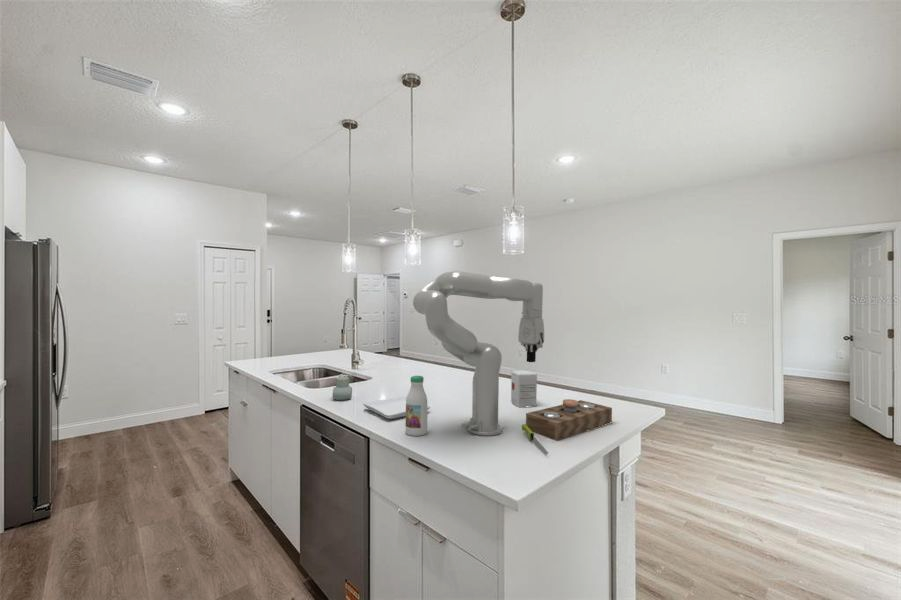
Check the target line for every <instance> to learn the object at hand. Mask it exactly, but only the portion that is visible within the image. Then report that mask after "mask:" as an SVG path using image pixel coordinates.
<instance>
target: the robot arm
mask: <svg viewBox="0 0 901 600" xmlns="http://www.w3.org/2000/svg"><path fill="white" fill-rule="evenodd" d="M543 287H544V286H543V284H542V283H539V282H531V281H529V280H526V279H519V278H512V277H502V276H495V275H494V276H493V275H486V274H479V273H472V272H466V271H459V270H454V271H446V272H444V273H441V274H440V275H438V276H437V277H435V279H433V280H432V281H431V282H429V283H428V284H427V285H426V286H423V288H422V289H420V290H419V291H418V292H417V293H416V294H415V295H414V297H413V300H412V306H413V308H414V310H415V311H416V312H417V313H419V314H421V315H425V322H426V326H427V328H428V331H429V332H430V334H431V335H433V336H434V337H435V338H436V339H438V340H439V341H440V342H441V343H440V344H441V346H442V347H443V349H444V350H445V351H446V352H447V353H449V354H450V355H452V356H453V357H455V358H457V359H458V360H460V361H462V362H463V363H465V364H466V365H469V366H471V367H474V368H475V369H474V373H473V378H472V397H471V398H472V402H471V403H472V405H471V406H472V407H471V408H472V409H471V413H472V415H471V416H472V417H470V418H469V421H468V422H463V423H461V428H462V429H463V430H464V429H467V431H468V432H469V433H471V434H474V435H476V436H477V435H478V436H484V437H486V436H487V437H488V436H498V435H499V434H501V433H502V432H503V427H502V425H501V424H499V391H500V390H499V388H500V387H499V386H500V385H499V384H500V383H499V381H500V372H501V365H502V357H503V356H502V353H501V351H500V350H499V348H498V347H497V346H496V345H493V344H491V343H485V342H481V341H478V339H477V337H476V335H475V334H474V333H473V332H472V331H471V330H469V329H467V328H466V327H465V326H463V325H461V324H459V323H458V322H457V321H456V320H454V319H453V318H452V317H451V316H450V314H449V311H448V300H447V298H448V297H449V296H460V297H461V296H462V297H470V298H475V299H476V298H477V299H487V300H488V299H489V300H495V299H496V300H497V299H500V300H501V299H502V300H507V301H509V302H522V312H521V314H522V315H521V316H522V317H520V320H519V321H520V322H519V325H518V336H517V338H518V342H519V343H520V345H521V346H522V347H524V349H525V352H526V362H527V363H536V357H537V356H536V353H537V352H538V350H539V349H541V348H543V347H544V345H543V344H544V342H545V325H544V319H543V297H544V296H543V293H544V288H543Z"/></svg>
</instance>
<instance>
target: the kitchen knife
mask: <svg viewBox="0 0 901 600" xmlns="http://www.w3.org/2000/svg"><path fill="white" fill-rule="evenodd" d="M521 430H522V431H524V433H525V434H526V435H528V441H529V442H532V444H534V446H536V448H538V449H539V450H540V452H541V453H542V454H544V455H545V456H547V455H548V454H549V452H548V451H547V449H546V448H545V447H544V446H543V445H542V443H541V442H540V441H539V440H538V439H537V437H536V436H535V433H534V432H532V431H531V430H530V429H529V427H528V426H527V425H526V423H524V424H522V425H521Z"/></svg>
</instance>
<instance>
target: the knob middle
mask: <svg viewBox="0 0 901 600" xmlns="http://www.w3.org/2000/svg"><path fill="white" fill-rule="evenodd" d="M578 401H579V400H575V399H563V400H562V405H564V412H568V413H571V414H574V413H577V407H578Z"/></svg>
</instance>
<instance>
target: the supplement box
mask: <svg viewBox="0 0 901 600" xmlns="http://www.w3.org/2000/svg"><path fill="white" fill-rule="evenodd" d="M510 377H511V380H510V381H511V383H510V384H511V385H510V386H511V387H510V389H511V390H510V391H511V393H510V394H511V396H510V402H512V403H513V404H512V403H511V404H512V405H514V404H515V405H516V407H517V406H518V407H524V408H527V407H526V406H536V407H537V388H538V386H537V385H538V383H537V382H538V379H537V378H538V375H537V373H535V372H533V371H530V370H511V376H510ZM515 405H514V406H515ZM518 407H517V408H518Z"/></svg>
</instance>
